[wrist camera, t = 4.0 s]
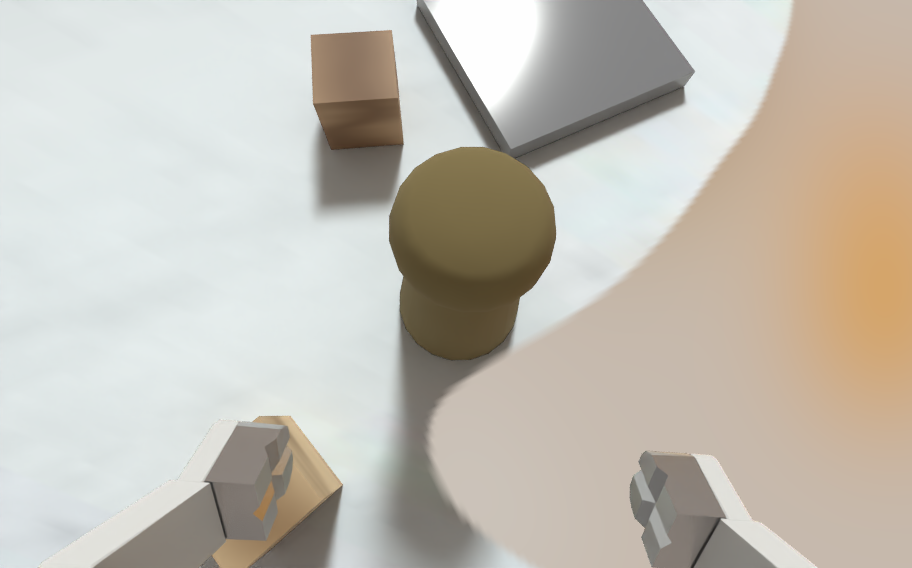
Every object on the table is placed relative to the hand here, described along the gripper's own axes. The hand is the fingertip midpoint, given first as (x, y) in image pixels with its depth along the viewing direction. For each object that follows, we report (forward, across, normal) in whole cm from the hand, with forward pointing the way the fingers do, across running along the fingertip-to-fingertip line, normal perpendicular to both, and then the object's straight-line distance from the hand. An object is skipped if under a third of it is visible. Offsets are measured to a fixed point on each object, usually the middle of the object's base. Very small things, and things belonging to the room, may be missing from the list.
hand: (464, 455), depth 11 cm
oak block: (+6, +8, +10) cm, 14 cm away
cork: (+13, 0, +4) cm, 13 cm away
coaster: (+24, -4, -8) cm, 26 cm away
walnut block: (+20, +6, -4) cm, 21 cm away
